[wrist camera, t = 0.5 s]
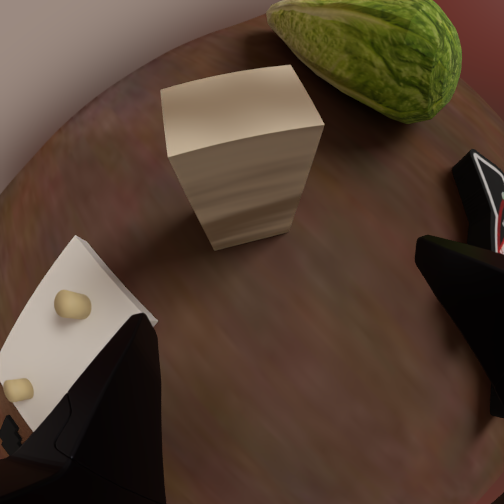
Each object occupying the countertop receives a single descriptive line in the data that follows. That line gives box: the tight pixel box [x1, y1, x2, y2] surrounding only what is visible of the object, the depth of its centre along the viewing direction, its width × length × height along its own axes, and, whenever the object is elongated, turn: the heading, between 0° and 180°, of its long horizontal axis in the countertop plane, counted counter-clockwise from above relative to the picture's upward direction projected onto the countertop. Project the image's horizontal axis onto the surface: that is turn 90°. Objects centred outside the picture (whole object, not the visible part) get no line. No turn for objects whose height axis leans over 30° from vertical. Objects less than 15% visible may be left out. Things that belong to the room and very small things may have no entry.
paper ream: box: [161, 65, 325, 251], centre depth 16 cm, size 4×6×13 cm
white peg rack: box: [0, 235, 158, 432], centre depth 18 cm, size 10×18×4 cm, turn 140°
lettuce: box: [266, 0, 462, 124], centre depth 23 cm, size 15×24×16 cm
